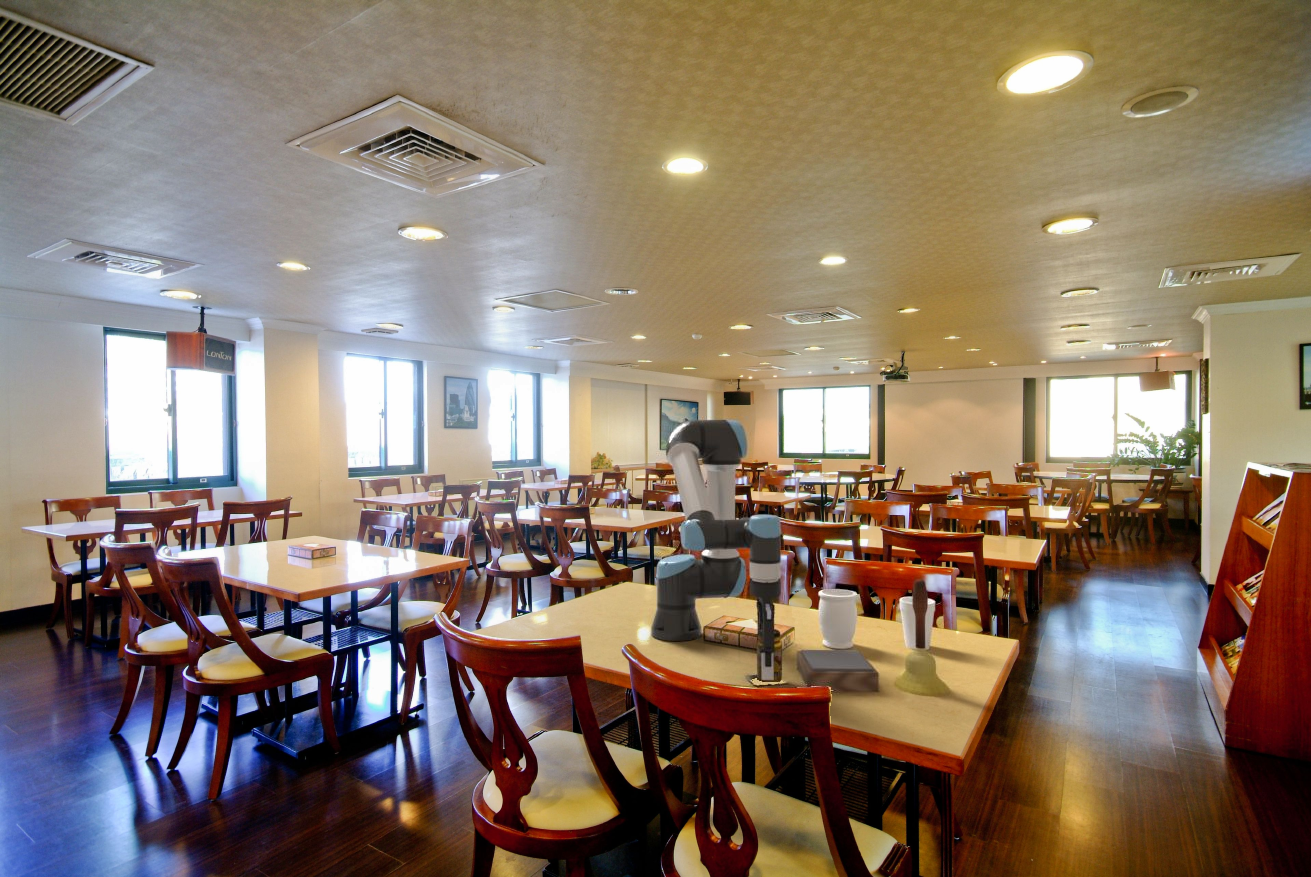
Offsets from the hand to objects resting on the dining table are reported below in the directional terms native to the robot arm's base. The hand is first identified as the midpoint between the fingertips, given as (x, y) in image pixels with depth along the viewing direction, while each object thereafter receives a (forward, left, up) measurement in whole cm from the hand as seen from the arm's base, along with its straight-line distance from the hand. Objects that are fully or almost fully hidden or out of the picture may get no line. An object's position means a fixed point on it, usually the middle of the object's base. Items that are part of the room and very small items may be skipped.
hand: (765, 674), depth 164 cm
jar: (+24, +29, -2) cm, 38 cm away
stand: (+17, +1, -2) cm, 17 cm away
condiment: (0, 0, -2) cm, 2 cm away
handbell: (+36, -3, -2) cm, 36 cm away
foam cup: (+46, +28, -2) cm, 54 cm away
